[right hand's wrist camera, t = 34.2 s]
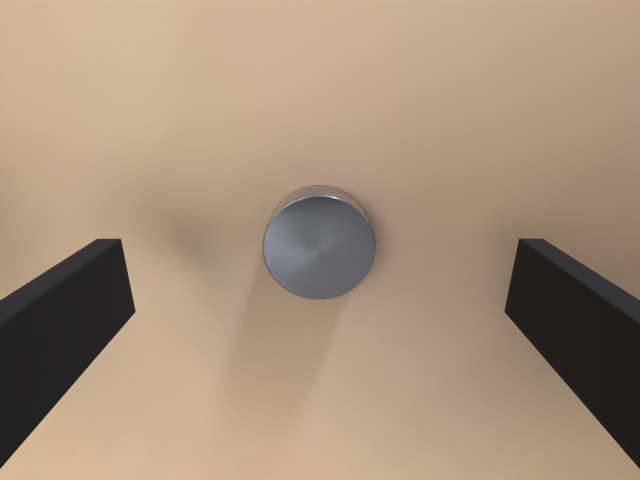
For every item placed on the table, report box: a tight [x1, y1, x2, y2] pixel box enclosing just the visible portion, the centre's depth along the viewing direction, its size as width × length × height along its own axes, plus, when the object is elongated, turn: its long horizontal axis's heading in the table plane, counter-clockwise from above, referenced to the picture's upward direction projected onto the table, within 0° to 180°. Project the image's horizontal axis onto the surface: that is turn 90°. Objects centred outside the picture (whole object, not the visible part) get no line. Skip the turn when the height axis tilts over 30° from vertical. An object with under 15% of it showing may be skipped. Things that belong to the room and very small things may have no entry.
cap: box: [263, 186, 375, 299], centre depth 15 cm, size 4×4×2 cm
